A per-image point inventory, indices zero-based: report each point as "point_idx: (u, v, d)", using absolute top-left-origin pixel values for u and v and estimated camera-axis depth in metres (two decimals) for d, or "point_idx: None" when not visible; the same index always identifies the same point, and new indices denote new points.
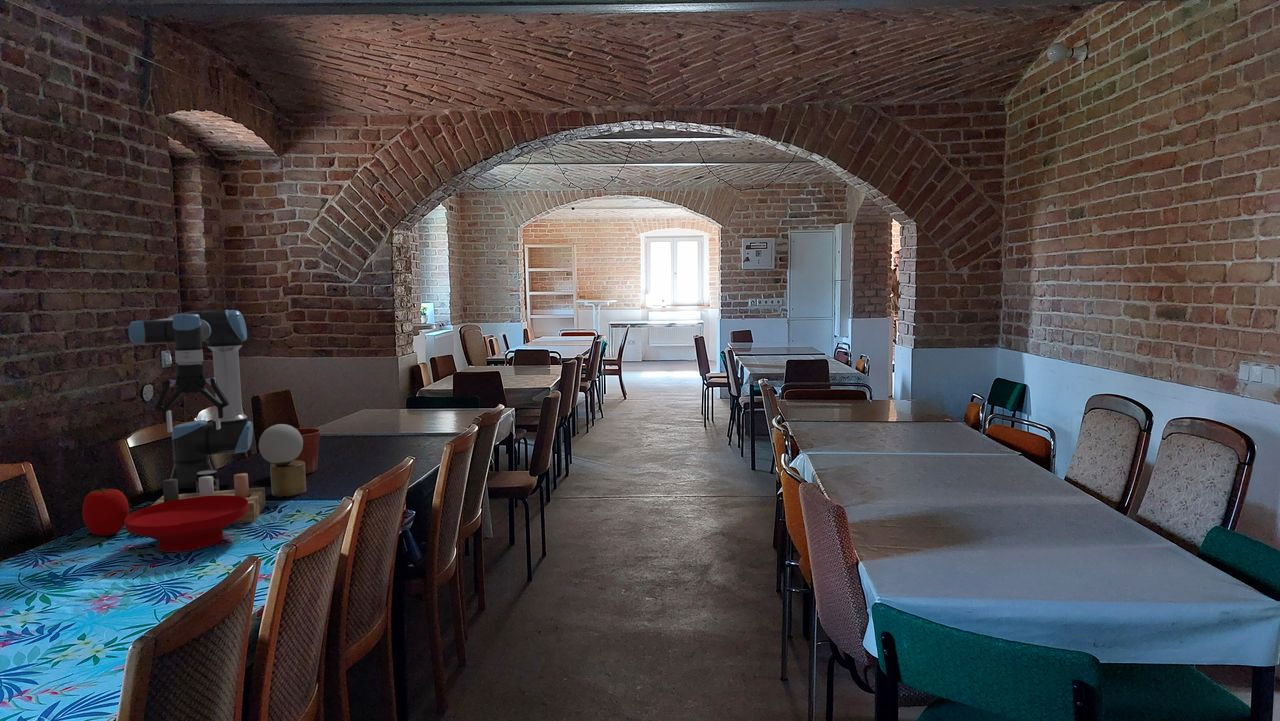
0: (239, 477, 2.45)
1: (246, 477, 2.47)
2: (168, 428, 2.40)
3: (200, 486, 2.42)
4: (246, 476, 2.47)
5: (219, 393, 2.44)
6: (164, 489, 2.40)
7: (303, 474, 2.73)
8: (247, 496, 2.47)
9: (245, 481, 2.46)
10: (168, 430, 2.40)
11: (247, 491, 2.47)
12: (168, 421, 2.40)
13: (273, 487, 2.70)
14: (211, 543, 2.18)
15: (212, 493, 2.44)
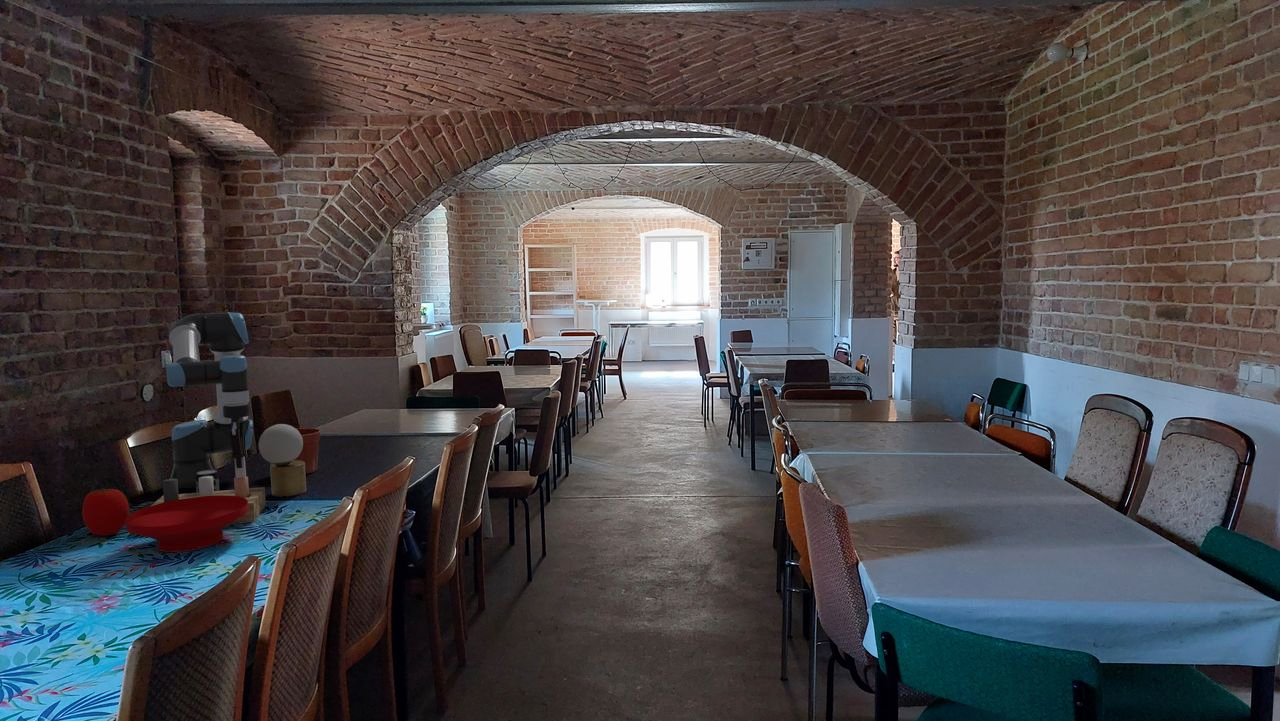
0: (239, 480, 2.45)
1: (246, 480, 2.47)
2: None
3: (200, 486, 2.42)
4: (246, 479, 2.47)
5: (231, 444, 2.41)
6: (164, 489, 2.40)
7: (303, 474, 2.73)
8: None
9: (245, 484, 2.46)
10: None
11: (247, 494, 2.47)
12: None
13: (273, 487, 2.70)
14: (211, 543, 2.18)
15: (212, 493, 2.44)
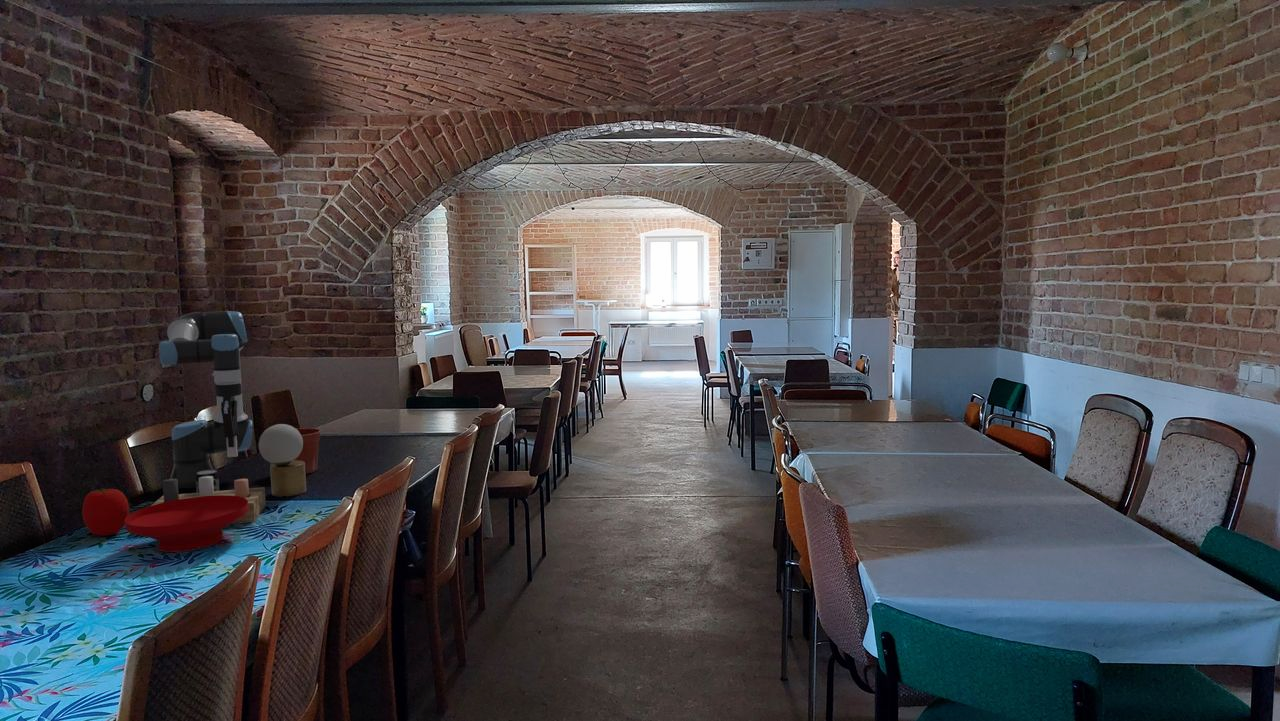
0: (239, 483, 2.45)
1: (246, 482, 2.47)
2: None
3: (200, 486, 2.42)
4: (246, 481, 2.47)
5: None
6: (164, 489, 2.40)
7: (303, 474, 2.73)
8: None
9: (246, 487, 2.46)
10: None
11: (247, 496, 2.47)
12: (227, 445, 2.45)
13: (273, 487, 2.70)
14: (211, 543, 2.18)
15: (212, 493, 2.44)
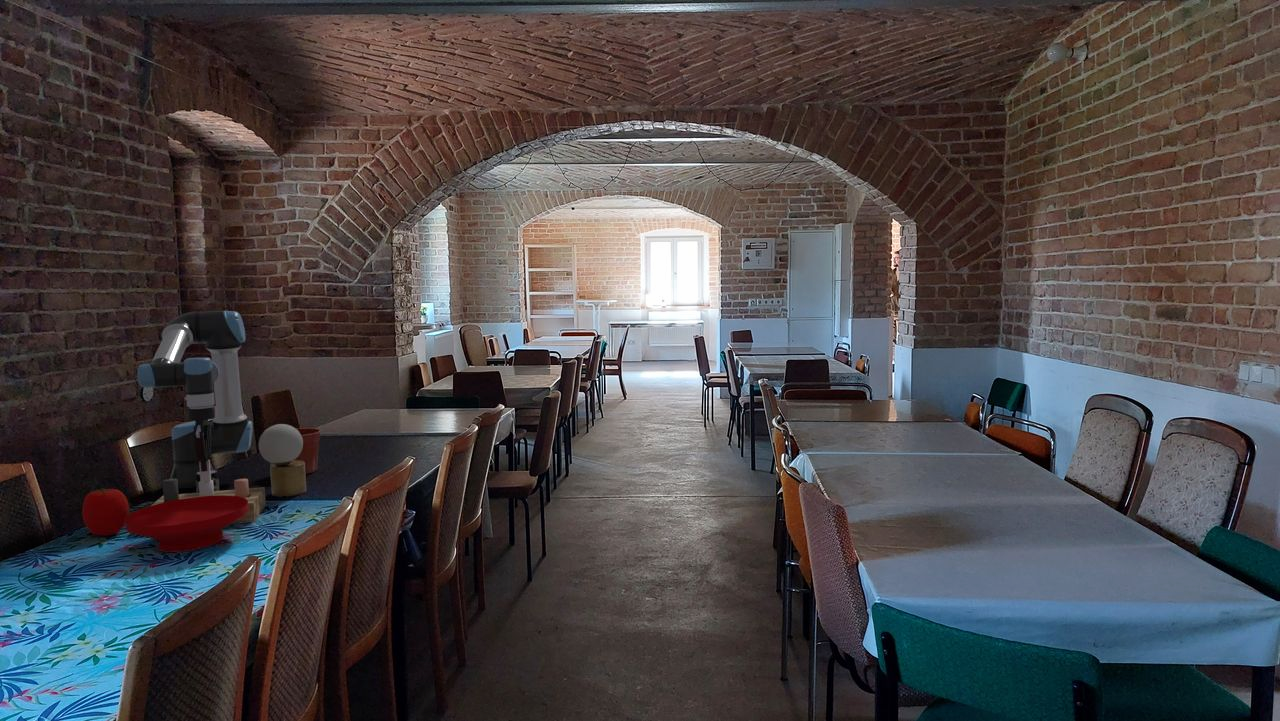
0: (239, 483, 2.45)
1: (246, 482, 2.47)
2: None
3: (200, 490, 2.43)
4: (246, 481, 2.47)
5: (195, 447, 2.39)
6: (164, 489, 2.40)
7: (303, 474, 2.73)
8: None
9: (246, 487, 2.46)
10: None
11: (247, 496, 2.47)
12: None
13: (273, 487, 2.70)
14: (211, 543, 2.18)
15: None
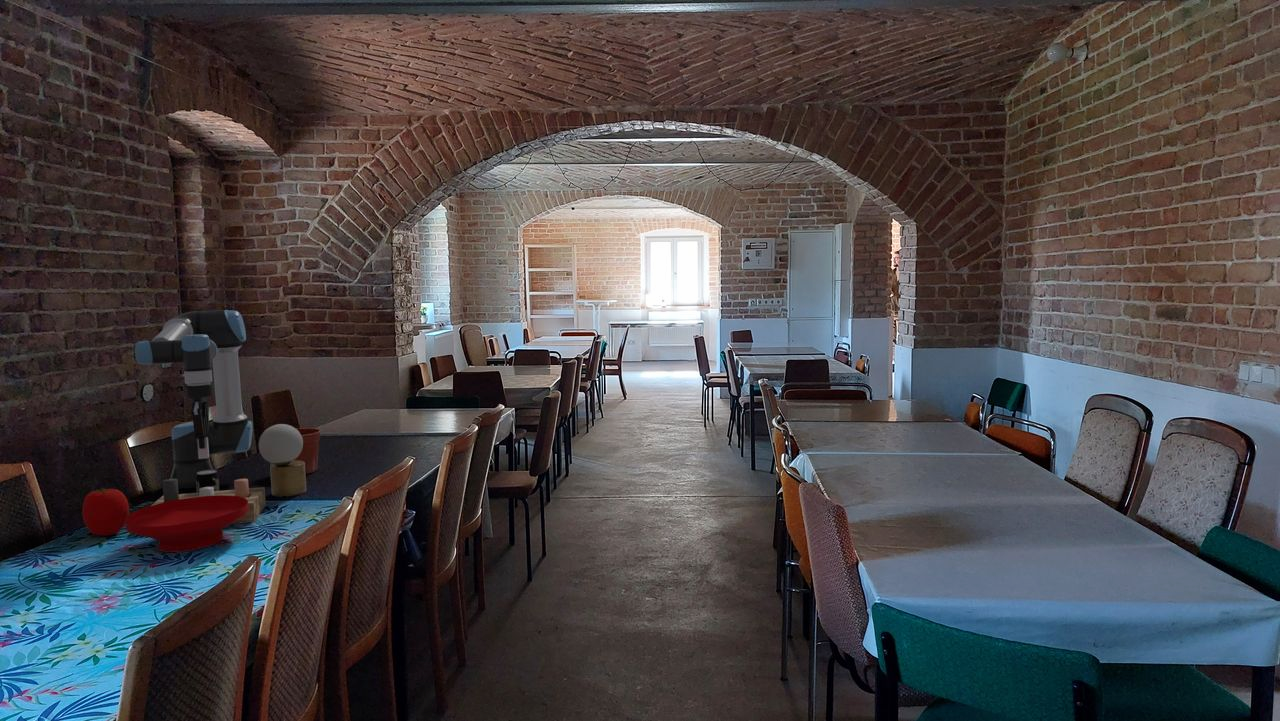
0: (239, 483, 2.45)
1: (246, 482, 2.47)
2: None
3: None
4: (246, 481, 2.47)
5: (193, 424, 2.38)
6: (164, 489, 2.40)
7: (303, 474, 2.73)
8: None
9: (246, 487, 2.46)
10: None
11: (247, 496, 2.47)
12: None
13: (273, 487, 2.70)
14: (211, 543, 2.18)
15: None
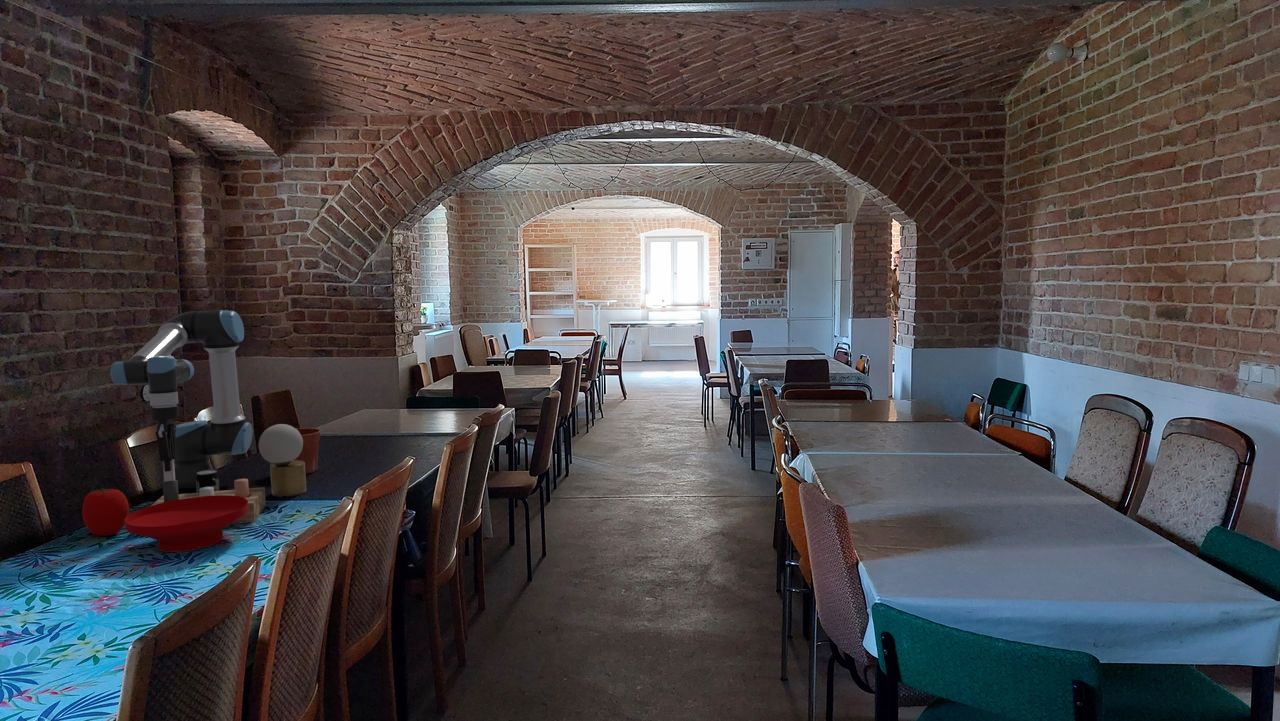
0: (239, 483, 2.45)
1: (246, 482, 2.47)
2: None
3: None
4: (246, 481, 2.47)
5: (158, 447, 2.36)
6: (164, 490, 2.40)
7: (303, 474, 2.73)
8: None
9: (246, 487, 2.46)
10: None
11: (247, 496, 2.47)
12: None
13: (273, 487, 2.70)
14: (211, 543, 2.18)
15: None
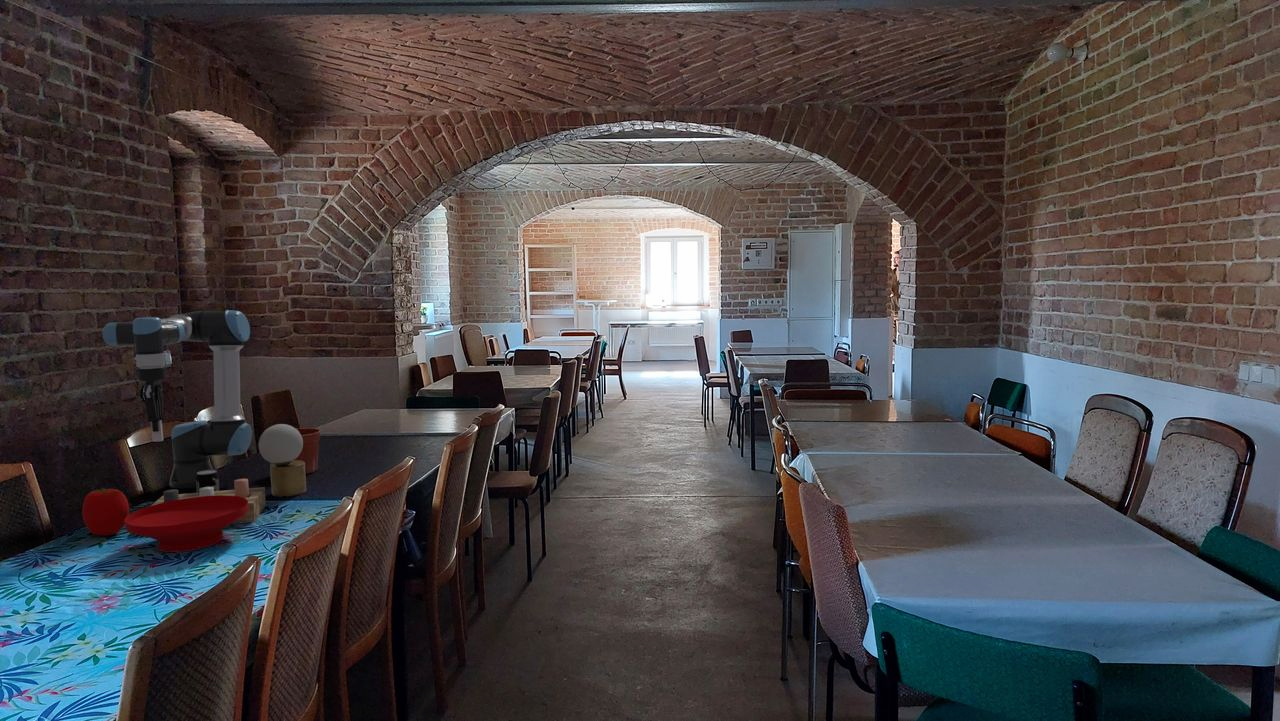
0: (239, 483, 2.45)
1: (246, 482, 2.47)
2: None
3: None
4: (246, 481, 2.47)
5: (146, 407, 2.38)
6: (165, 500, 2.40)
7: (303, 474, 2.73)
8: None
9: (246, 487, 2.46)
10: None
11: (247, 496, 2.47)
12: None
13: (273, 487, 2.70)
14: (211, 543, 2.18)
15: None
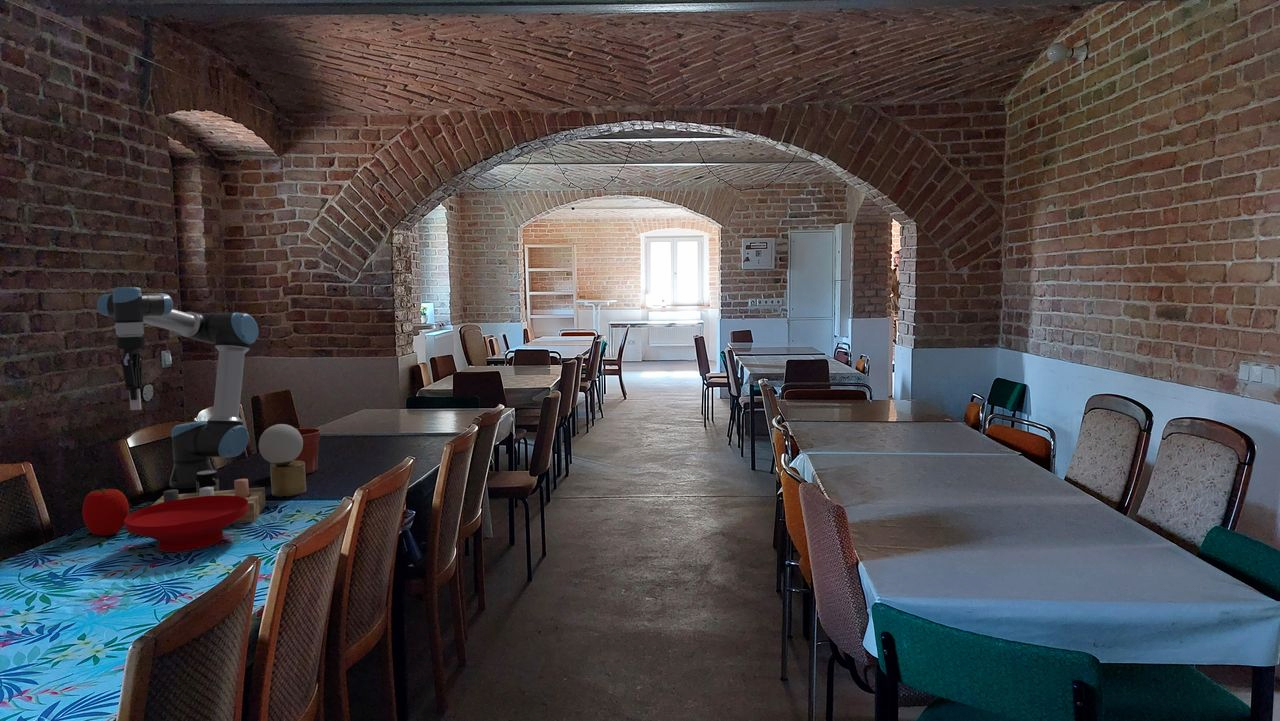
0: (239, 483, 2.45)
1: (246, 482, 2.47)
2: None
3: None
4: (246, 481, 2.47)
5: (124, 375, 2.41)
6: (165, 500, 2.40)
7: (303, 474, 2.73)
8: None
9: (246, 487, 2.46)
10: None
11: (247, 496, 2.47)
12: None
13: (273, 487, 2.70)
14: (211, 543, 2.18)
15: None
